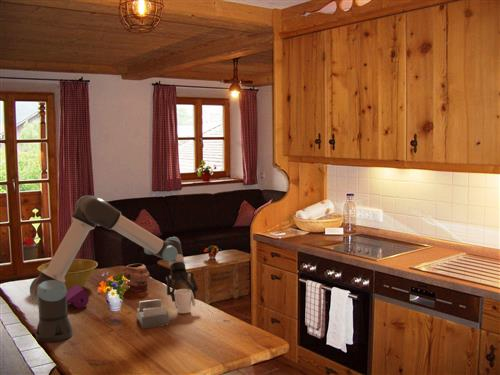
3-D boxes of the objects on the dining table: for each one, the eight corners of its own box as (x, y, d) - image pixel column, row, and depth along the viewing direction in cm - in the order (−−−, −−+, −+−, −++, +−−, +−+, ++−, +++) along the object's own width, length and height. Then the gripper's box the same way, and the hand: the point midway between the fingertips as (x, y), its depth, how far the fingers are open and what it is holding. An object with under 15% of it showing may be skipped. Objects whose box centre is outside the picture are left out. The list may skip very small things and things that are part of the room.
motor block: (168, 325, 245) (168, 307, 244) (142, 328, 241) (141, 310, 240) (162, 315, 258) (162, 298, 257) (137, 318, 254) (136, 301, 253)
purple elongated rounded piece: (60, 324, 264) (91, 301, 274) (52, 311, 261) (83, 288, 271) (53, 319, 271) (83, 297, 281) (45, 306, 268) (75, 284, 278)
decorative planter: (115, 288, 302) (114, 264, 300) (132, 283, 311) (131, 260, 310) (140, 294, 290) (139, 269, 288) (156, 289, 300) (155, 264, 298)
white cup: (192, 308, 265) (192, 288, 264) (191, 313, 257) (191, 293, 256) (176, 308, 265) (176, 288, 264) (174, 313, 257) (174, 293, 256)
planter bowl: (105, 280, 318) (104, 258, 317) (88, 297, 286) (87, 273, 285) (52, 280, 319) (51, 258, 318) (28, 297, 287) (27, 273, 286)
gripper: (195, 267, 277) (204, 307, 264) (156, 271, 270) (163, 312, 257) (198, 259, 272) (207, 299, 258) (157, 263, 264) (165, 304, 251)
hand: (185, 305), depth 257 cm, fingers closed on white cup, 8 cm apart
